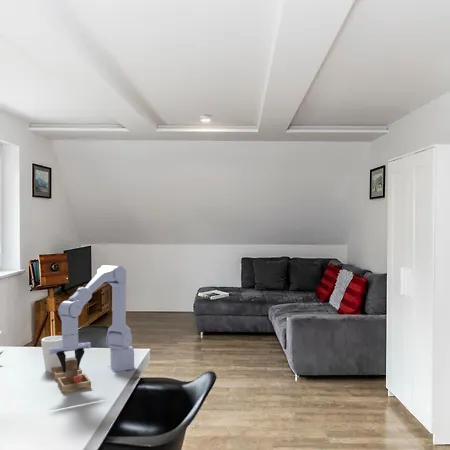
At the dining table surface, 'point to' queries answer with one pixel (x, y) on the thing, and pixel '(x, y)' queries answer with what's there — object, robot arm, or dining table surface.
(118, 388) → the dining table surface
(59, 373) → the box empty
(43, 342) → the foam cup
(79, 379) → the red ball
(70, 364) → the walnut block
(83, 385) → the box with ball
